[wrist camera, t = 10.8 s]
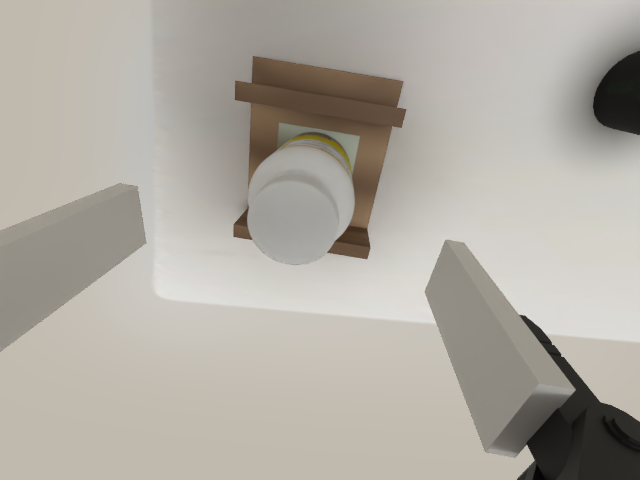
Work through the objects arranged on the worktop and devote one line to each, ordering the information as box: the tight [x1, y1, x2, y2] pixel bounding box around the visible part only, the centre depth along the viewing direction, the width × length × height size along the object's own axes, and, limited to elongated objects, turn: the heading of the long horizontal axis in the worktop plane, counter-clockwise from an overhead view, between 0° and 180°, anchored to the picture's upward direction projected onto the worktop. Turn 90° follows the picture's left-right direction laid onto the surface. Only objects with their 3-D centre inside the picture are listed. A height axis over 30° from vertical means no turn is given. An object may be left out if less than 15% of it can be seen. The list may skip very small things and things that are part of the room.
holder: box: [234, 56, 406, 259], centre depth 25 cm, size 16×12×5 cm
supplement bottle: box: [247, 132, 355, 265], centre depth 20 cm, size 7×7×13 cm
